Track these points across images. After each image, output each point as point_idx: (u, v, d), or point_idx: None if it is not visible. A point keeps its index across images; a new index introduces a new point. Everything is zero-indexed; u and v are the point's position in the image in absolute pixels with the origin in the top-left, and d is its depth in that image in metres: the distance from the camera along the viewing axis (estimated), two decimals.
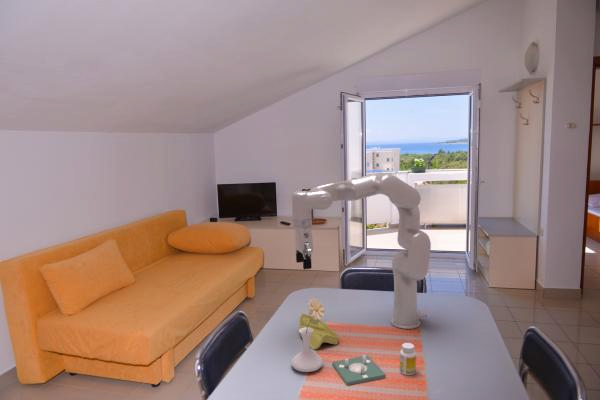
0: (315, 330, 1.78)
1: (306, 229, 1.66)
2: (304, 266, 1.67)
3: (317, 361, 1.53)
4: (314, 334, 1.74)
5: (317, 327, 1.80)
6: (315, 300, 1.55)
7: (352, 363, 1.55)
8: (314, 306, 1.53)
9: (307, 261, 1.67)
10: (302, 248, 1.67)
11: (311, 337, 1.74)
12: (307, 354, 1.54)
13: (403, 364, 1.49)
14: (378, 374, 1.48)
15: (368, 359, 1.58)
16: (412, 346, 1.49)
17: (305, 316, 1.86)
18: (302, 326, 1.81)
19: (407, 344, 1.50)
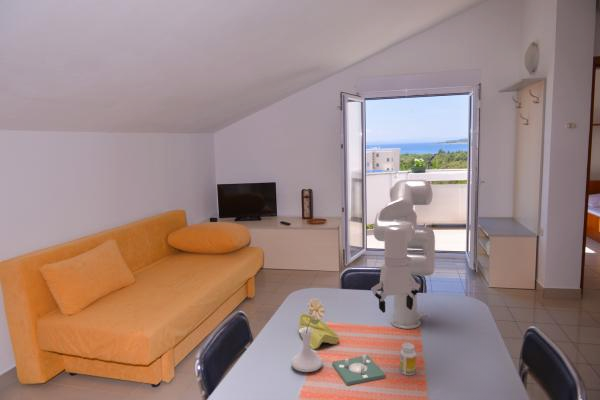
0: (315, 330, 1.78)
1: (407, 265, 1.49)
2: None
3: (317, 361, 1.53)
4: (314, 334, 1.74)
5: (317, 327, 1.81)
6: (315, 300, 1.55)
7: (352, 363, 1.55)
8: (314, 306, 1.53)
9: None
10: (411, 287, 1.48)
11: (311, 337, 1.74)
12: (307, 354, 1.54)
13: (403, 364, 1.49)
14: (378, 374, 1.48)
15: (368, 359, 1.58)
16: (412, 346, 1.49)
17: (305, 316, 1.86)
18: (302, 326, 1.82)
19: (407, 344, 1.50)
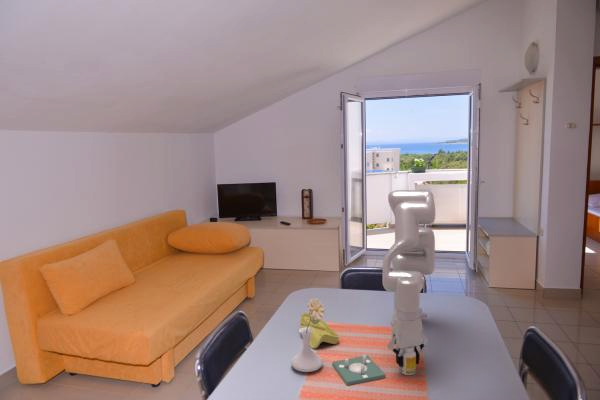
0: (315, 329, 1.79)
1: None
2: None
3: (317, 361, 1.53)
4: (314, 333, 1.75)
5: (318, 326, 1.81)
6: (315, 300, 1.55)
7: (352, 363, 1.55)
8: (314, 306, 1.53)
9: None
10: (423, 338, 1.49)
11: (311, 336, 1.75)
12: (307, 354, 1.54)
13: (403, 364, 1.49)
14: (378, 374, 1.48)
15: (368, 359, 1.58)
16: None
17: (306, 315, 1.86)
18: (303, 325, 1.82)
19: None
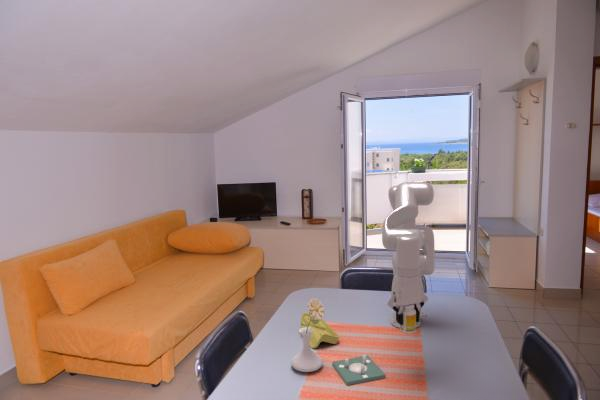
0: (316, 329, 1.79)
1: None
2: None
3: (317, 361, 1.53)
4: (314, 333, 1.75)
5: (318, 326, 1.81)
6: (315, 300, 1.55)
7: (352, 363, 1.55)
8: (314, 306, 1.53)
9: None
10: (423, 296, 1.47)
11: (311, 336, 1.75)
12: (307, 354, 1.54)
13: (403, 322, 1.47)
14: (378, 374, 1.48)
15: (368, 359, 1.58)
16: (412, 304, 1.47)
17: (307, 315, 1.87)
18: (303, 325, 1.83)
19: None
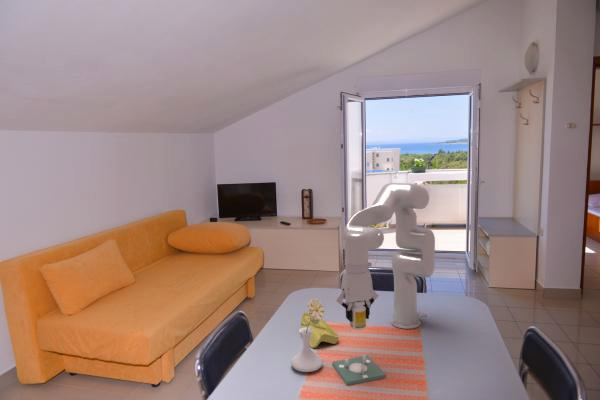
0: (316, 329, 1.79)
1: (368, 271, 1.49)
2: None
3: (317, 361, 1.53)
4: (314, 333, 1.75)
5: (318, 326, 1.81)
6: (315, 300, 1.55)
7: (352, 363, 1.55)
8: (314, 306, 1.53)
9: None
10: (372, 292, 1.48)
11: (311, 336, 1.75)
12: (307, 354, 1.54)
13: (352, 319, 1.48)
14: (378, 374, 1.48)
15: (368, 359, 1.58)
16: None
17: (307, 315, 1.87)
18: None
19: None
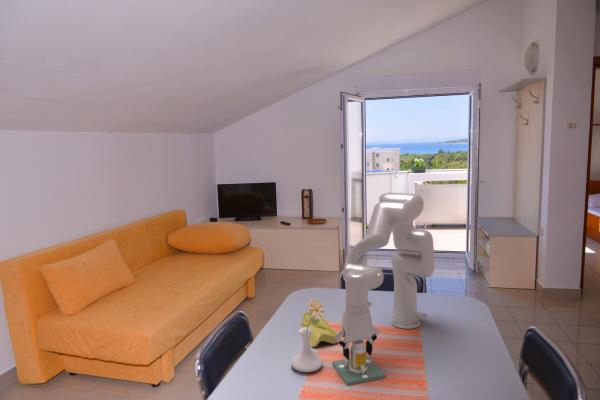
0: (316, 328, 1.80)
1: (368, 310, 1.51)
2: None
3: (317, 361, 1.53)
4: (314, 332, 1.76)
5: (319, 325, 1.82)
6: (315, 300, 1.55)
7: None
8: (314, 306, 1.53)
9: None
10: (372, 331, 1.50)
11: (311, 335, 1.76)
12: (307, 354, 1.54)
13: (353, 360, 1.50)
14: (378, 374, 1.48)
15: (368, 359, 1.58)
16: (362, 342, 1.50)
17: None
18: None
19: None
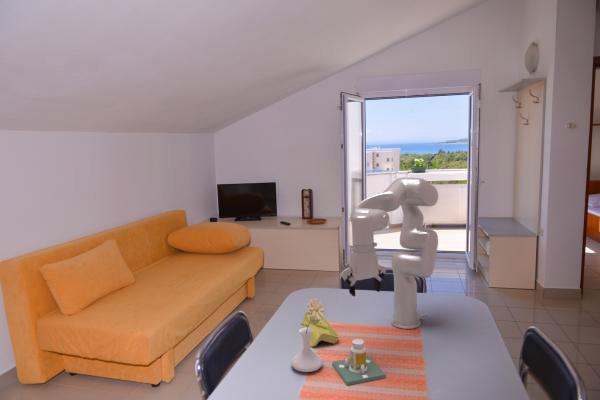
0: (317, 328, 1.80)
1: None
2: None
3: (317, 361, 1.53)
4: (314, 332, 1.76)
5: (319, 325, 1.82)
6: (315, 300, 1.55)
7: None
8: (314, 306, 1.53)
9: None
10: None
11: (311, 334, 1.76)
12: (307, 354, 1.54)
13: (353, 360, 1.50)
14: (378, 374, 1.48)
15: (368, 359, 1.58)
16: (362, 342, 1.50)
17: None
18: (305, 323, 1.84)
19: (357, 340, 1.52)
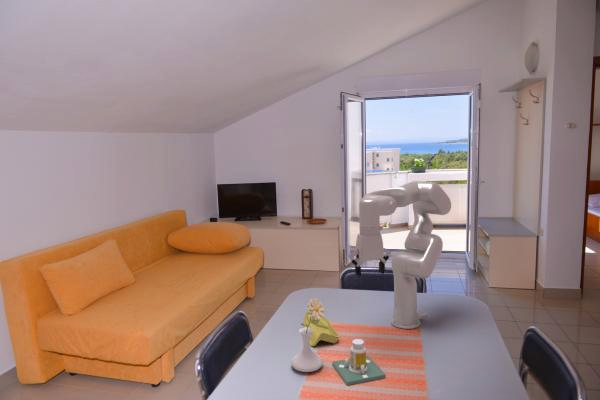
0: (317, 327, 1.80)
1: None
2: None
3: (317, 361, 1.53)
4: (314, 331, 1.76)
5: (320, 325, 1.82)
6: (315, 300, 1.55)
7: None
8: (314, 306, 1.53)
9: None
10: None
11: (311, 334, 1.77)
12: (307, 354, 1.54)
13: (353, 360, 1.50)
14: (378, 374, 1.48)
15: (368, 359, 1.58)
16: (362, 342, 1.50)
17: None
18: (306, 322, 1.85)
19: (357, 340, 1.52)
